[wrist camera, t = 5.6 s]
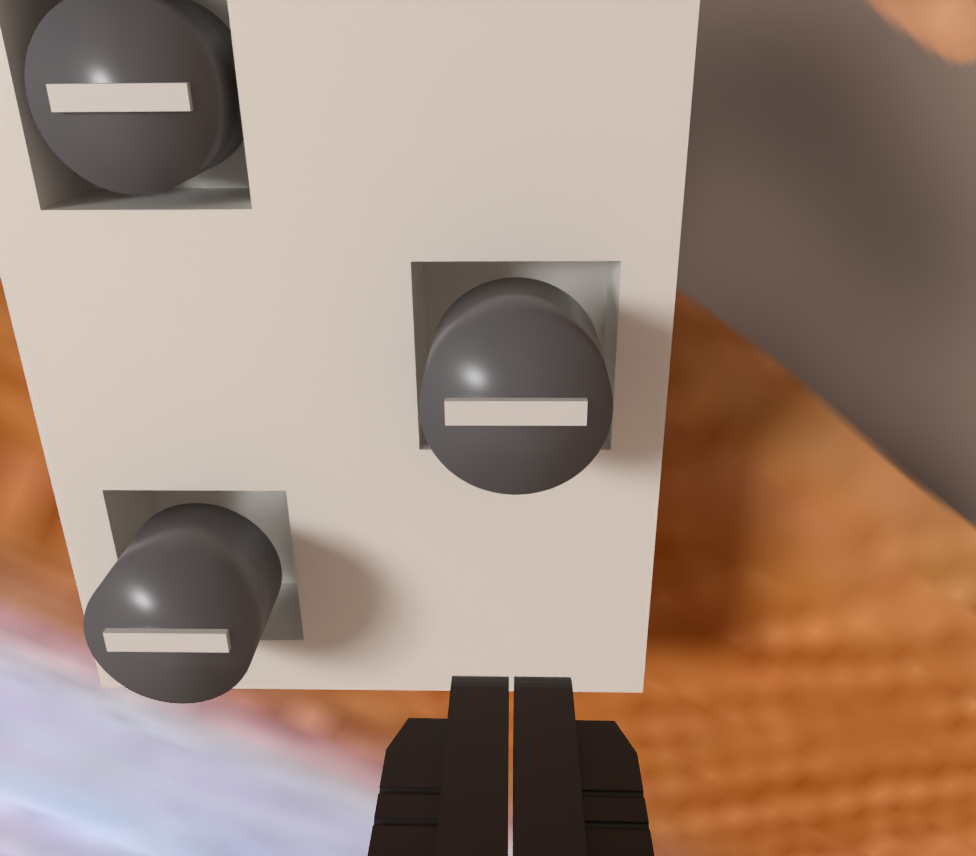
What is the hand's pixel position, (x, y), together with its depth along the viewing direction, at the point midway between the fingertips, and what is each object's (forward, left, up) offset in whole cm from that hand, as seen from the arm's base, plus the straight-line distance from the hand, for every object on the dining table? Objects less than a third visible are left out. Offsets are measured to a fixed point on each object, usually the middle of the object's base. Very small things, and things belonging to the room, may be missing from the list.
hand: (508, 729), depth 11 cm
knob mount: (0, -4, -17) cm, 18 cm away
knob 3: (0, 0, -13) cm, 13 cm away
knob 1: (-7, -9, -16) cm, 19 cm away
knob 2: (+6, -9, -13) cm, 17 cm away
